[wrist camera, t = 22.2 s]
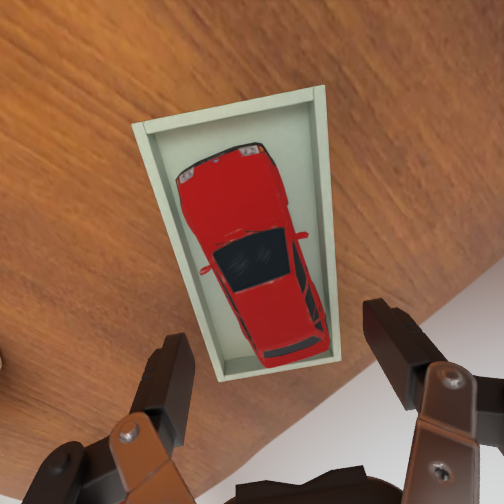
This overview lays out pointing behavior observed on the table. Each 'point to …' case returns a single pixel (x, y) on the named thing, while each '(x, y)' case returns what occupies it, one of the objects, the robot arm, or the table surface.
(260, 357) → the toy car
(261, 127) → the tray
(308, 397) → the table surface
